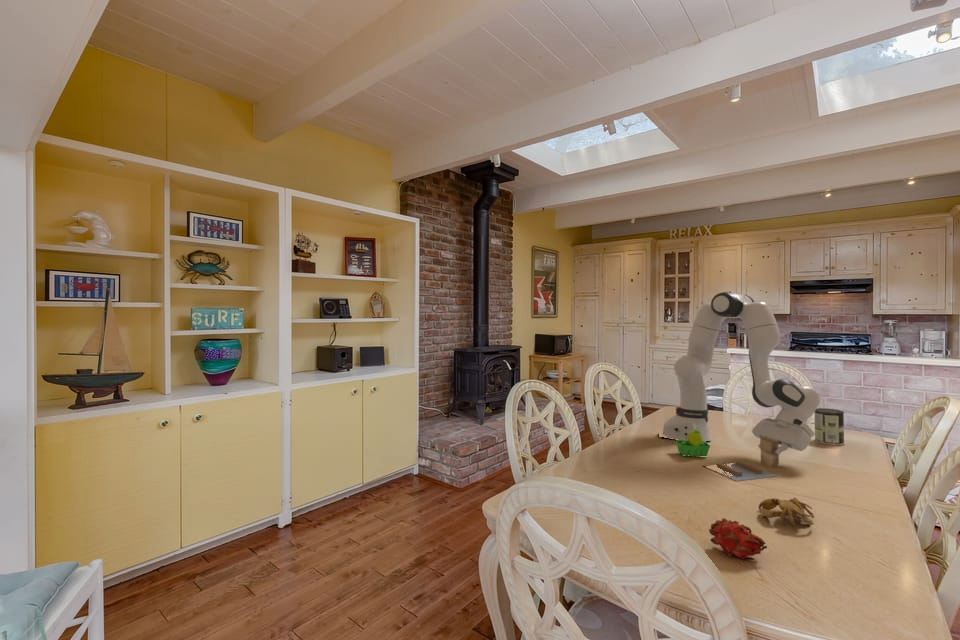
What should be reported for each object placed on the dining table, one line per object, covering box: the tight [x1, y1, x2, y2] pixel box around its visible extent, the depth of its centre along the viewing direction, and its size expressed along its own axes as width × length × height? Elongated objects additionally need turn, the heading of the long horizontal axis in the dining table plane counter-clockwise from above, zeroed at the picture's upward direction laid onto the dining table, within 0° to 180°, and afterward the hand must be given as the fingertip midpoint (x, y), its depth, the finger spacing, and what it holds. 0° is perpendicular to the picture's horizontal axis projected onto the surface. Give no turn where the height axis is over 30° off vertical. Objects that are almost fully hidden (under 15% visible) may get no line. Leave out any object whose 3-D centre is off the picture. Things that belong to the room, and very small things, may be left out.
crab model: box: [758, 497, 815, 528], centre depth 120 cm, size 16×13×6 cm
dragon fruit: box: [708, 517, 768, 561], centre depth 102 cm, size 8×8×12 cm
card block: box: [760, 437, 780, 468], centre depth 163 cm, size 4×4×10 cm
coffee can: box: [813, 407, 845, 446], centre depth 190 cm, size 10×10×14 cm
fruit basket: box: [675, 430, 711, 457], centre depth 175 cm, size 11×9×11 cm
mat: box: [715, 460, 779, 482], centre depth 157 cm, size 18×16×2 cm
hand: (768, 450), depth 163 cm, fingers open, 5 cm apart
